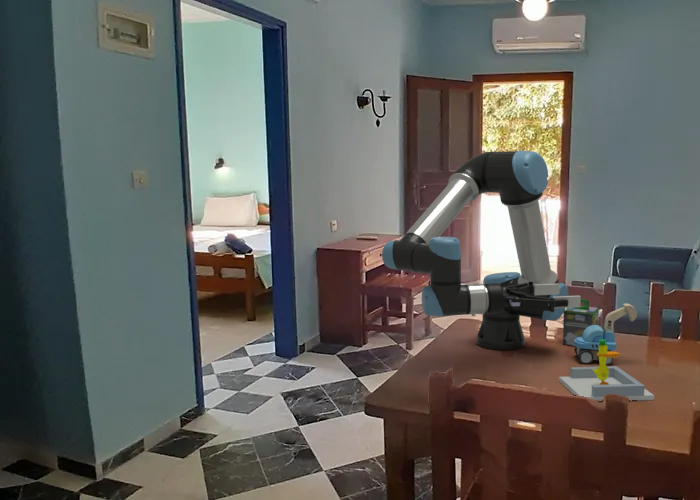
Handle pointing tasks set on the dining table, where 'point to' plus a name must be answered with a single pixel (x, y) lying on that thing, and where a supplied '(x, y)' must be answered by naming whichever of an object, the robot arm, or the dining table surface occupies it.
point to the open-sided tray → (618, 380)
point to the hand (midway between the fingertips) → (569, 294)
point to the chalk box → (578, 321)
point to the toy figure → (604, 361)
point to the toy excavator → (601, 335)
